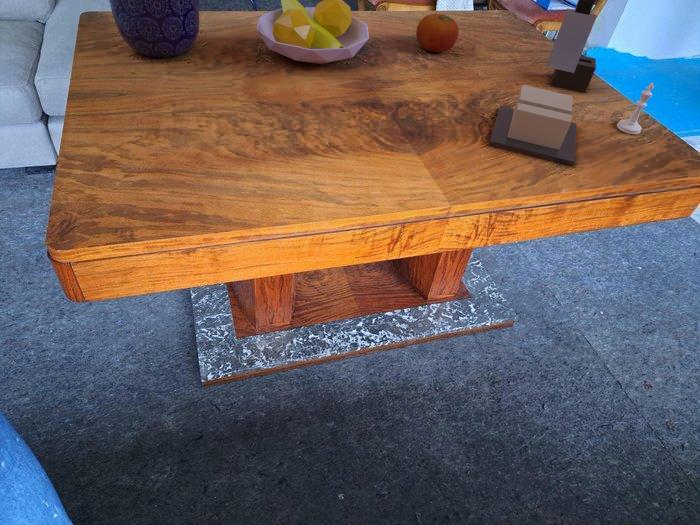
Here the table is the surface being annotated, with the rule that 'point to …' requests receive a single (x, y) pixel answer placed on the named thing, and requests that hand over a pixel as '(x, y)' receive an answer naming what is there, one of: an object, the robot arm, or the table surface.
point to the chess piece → (636, 114)
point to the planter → (157, 25)
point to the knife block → (576, 75)
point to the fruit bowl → (313, 31)
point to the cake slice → (539, 126)
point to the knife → (572, 37)
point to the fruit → (437, 32)
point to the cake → (544, 100)
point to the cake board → (502, 141)
